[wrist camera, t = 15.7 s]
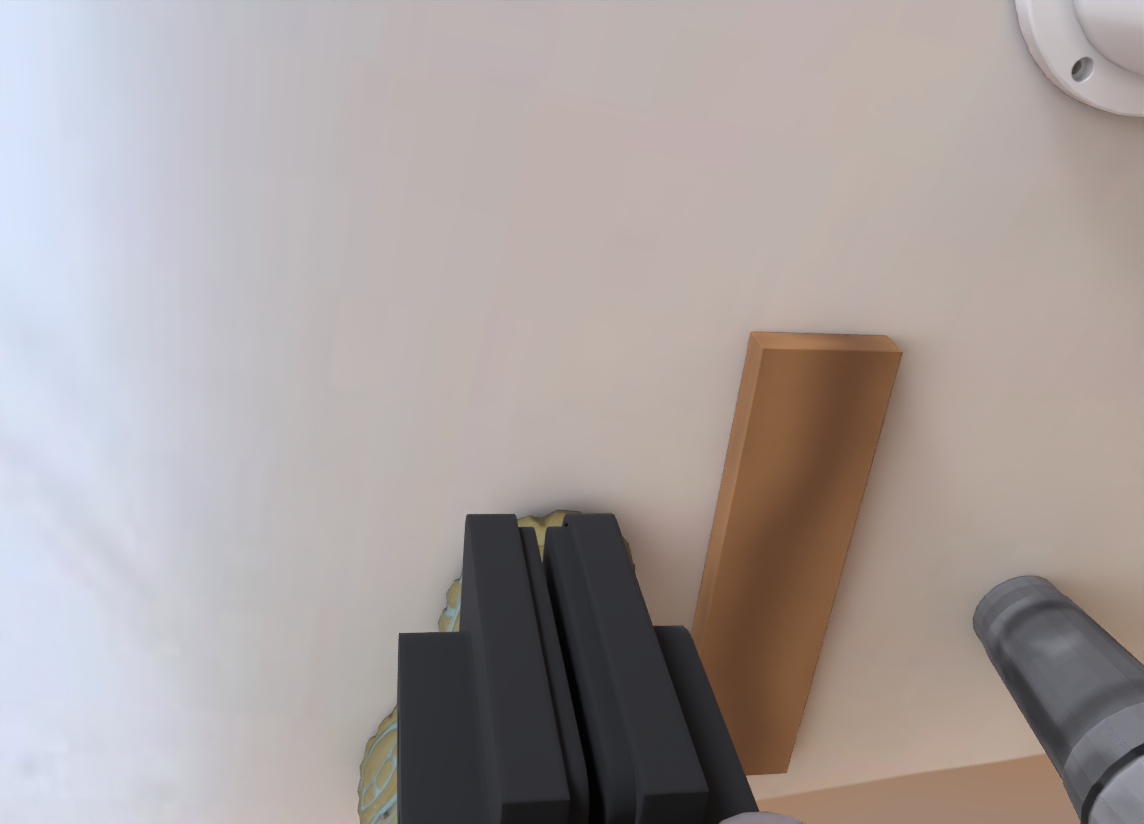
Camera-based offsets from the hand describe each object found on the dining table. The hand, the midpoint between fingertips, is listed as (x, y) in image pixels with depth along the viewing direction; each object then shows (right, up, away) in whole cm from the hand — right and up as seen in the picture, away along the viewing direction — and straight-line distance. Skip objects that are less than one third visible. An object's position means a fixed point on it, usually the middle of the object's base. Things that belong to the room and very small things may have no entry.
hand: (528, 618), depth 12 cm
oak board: (+10, -5, +36) cm, 37 cm away
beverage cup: (+23, -8, +40) cm, 47 cm away
